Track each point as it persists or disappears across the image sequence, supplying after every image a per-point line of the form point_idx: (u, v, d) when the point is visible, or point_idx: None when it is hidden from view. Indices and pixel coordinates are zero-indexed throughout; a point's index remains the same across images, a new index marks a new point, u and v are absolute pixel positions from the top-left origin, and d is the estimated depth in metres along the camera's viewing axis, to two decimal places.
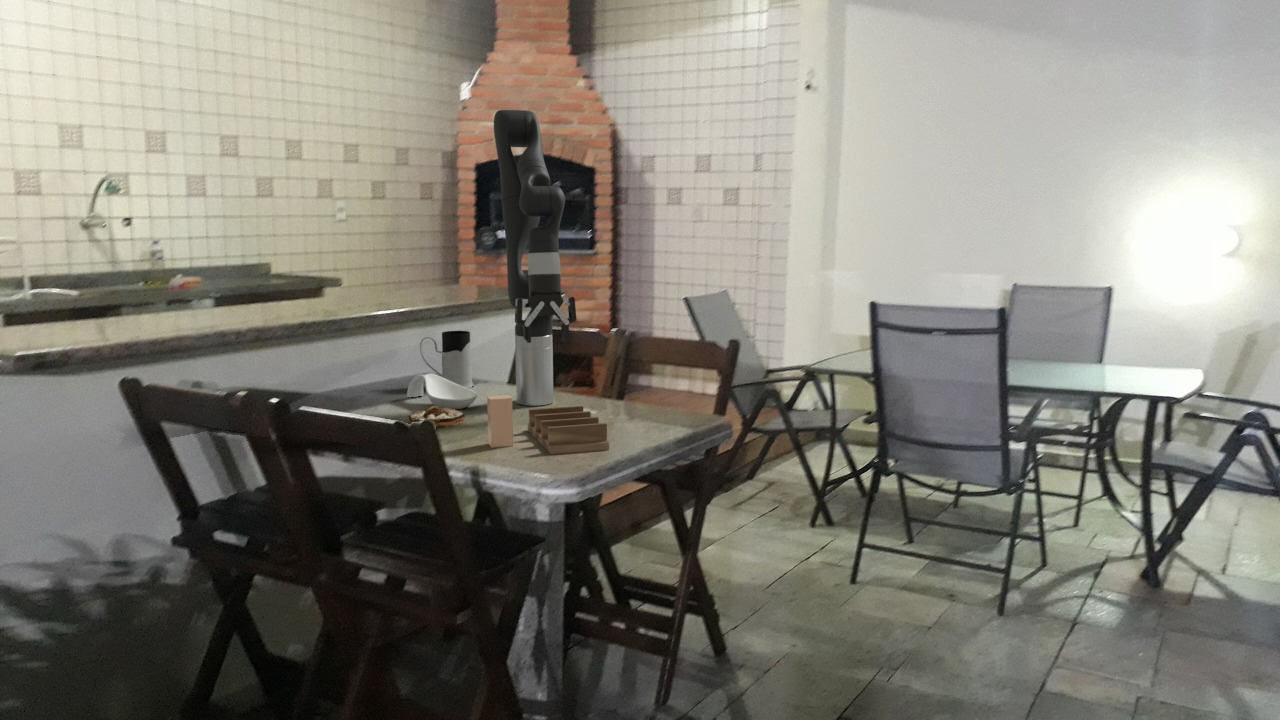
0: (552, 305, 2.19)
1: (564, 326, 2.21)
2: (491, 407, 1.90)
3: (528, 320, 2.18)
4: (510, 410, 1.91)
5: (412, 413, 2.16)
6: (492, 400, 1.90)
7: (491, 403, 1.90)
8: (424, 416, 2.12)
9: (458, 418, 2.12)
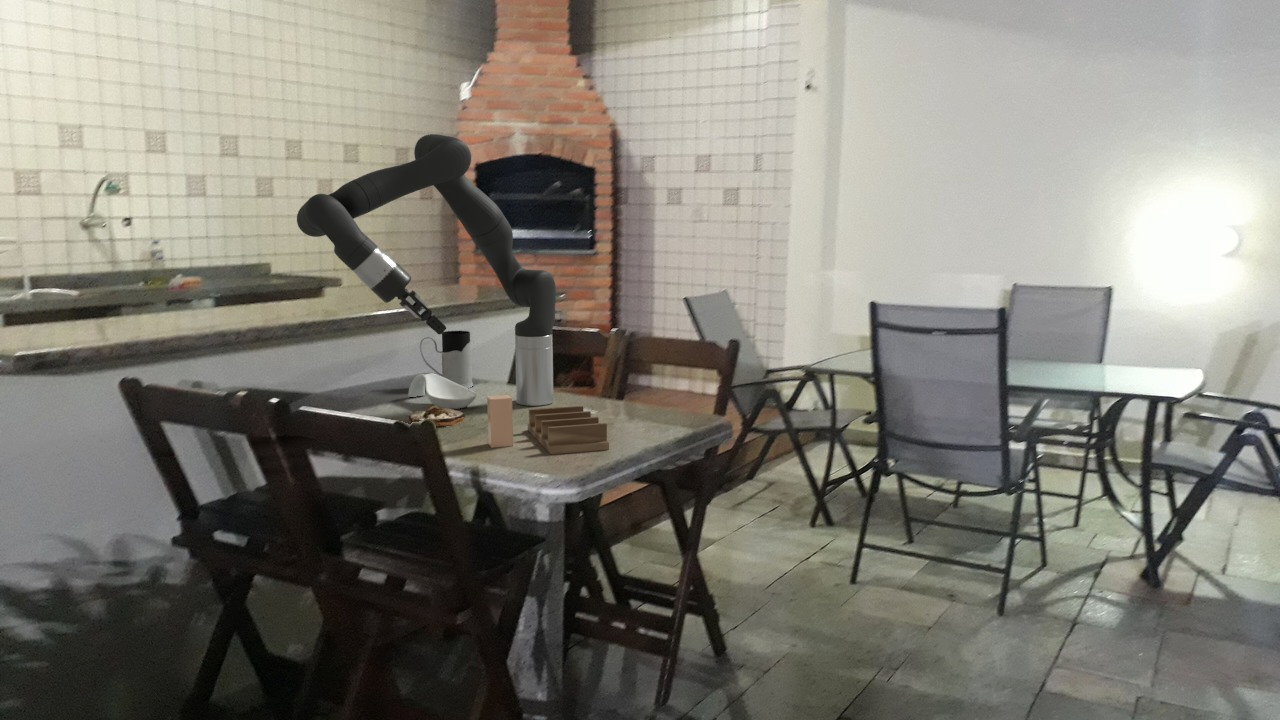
0: (404, 308, 1.91)
1: None
2: (491, 407, 1.90)
3: None
4: (510, 410, 1.91)
5: (412, 413, 2.16)
6: (492, 400, 1.90)
7: (491, 403, 1.90)
8: (424, 416, 2.12)
9: (458, 418, 2.12)
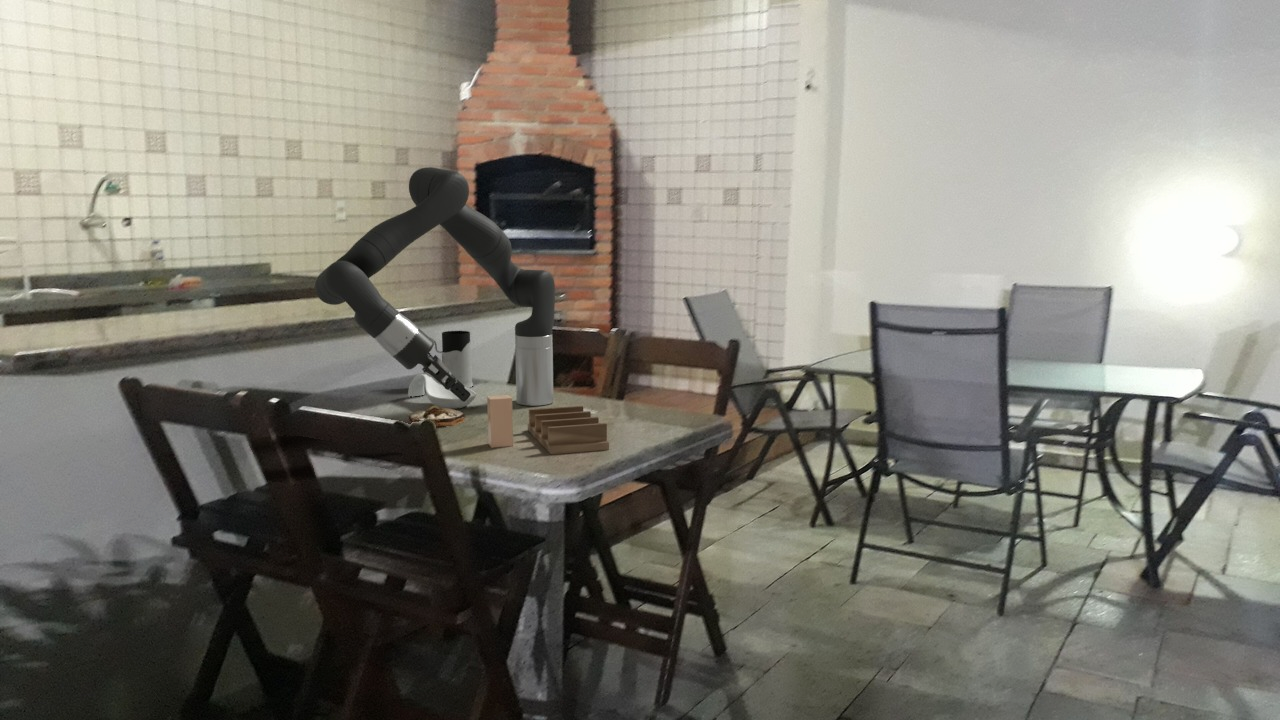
0: None
1: None
2: (491, 407, 1.90)
3: None
4: (510, 410, 1.91)
5: (412, 413, 2.16)
6: (492, 400, 1.90)
7: (491, 403, 1.90)
8: (424, 416, 2.12)
9: (458, 418, 2.12)
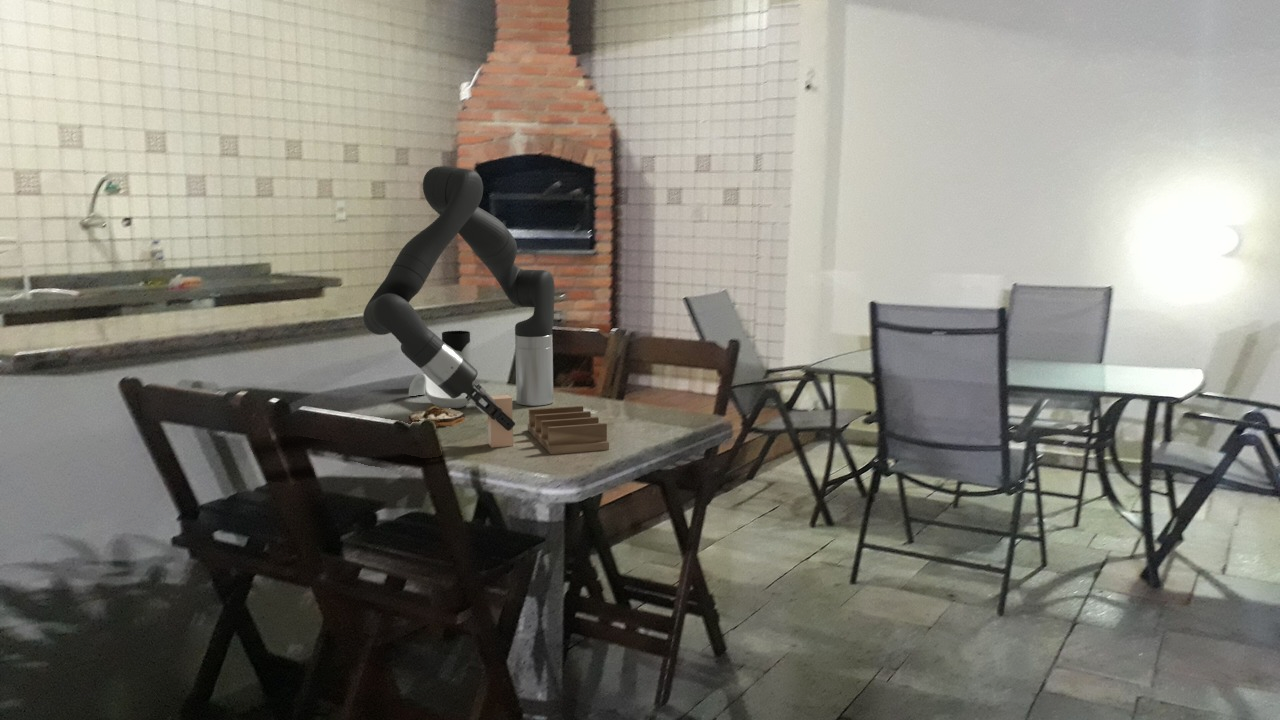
0: None
1: None
2: None
3: None
4: (510, 410, 1.91)
5: (412, 413, 2.16)
6: None
7: None
8: (424, 416, 2.12)
9: (458, 418, 2.12)
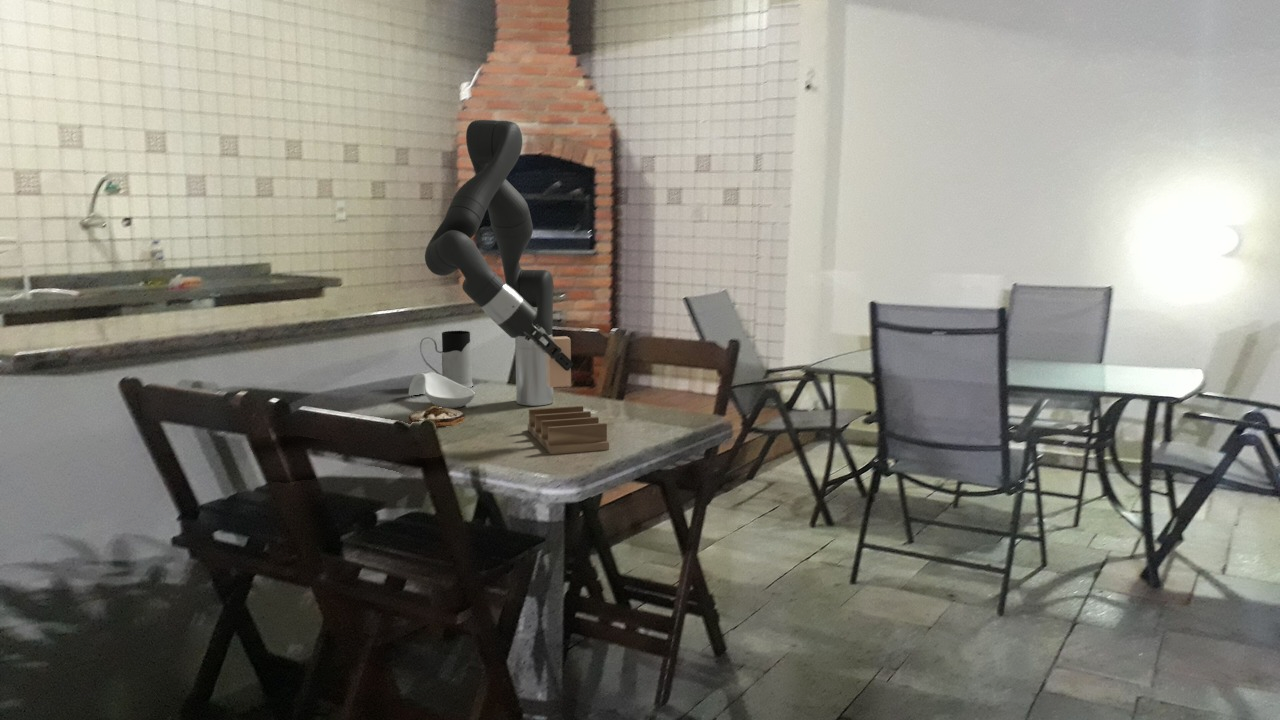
0: (529, 342, 1.92)
1: None
2: None
3: None
4: (568, 350, 1.94)
5: (412, 413, 2.16)
6: None
7: None
8: (424, 416, 2.12)
9: (458, 418, 2.12)
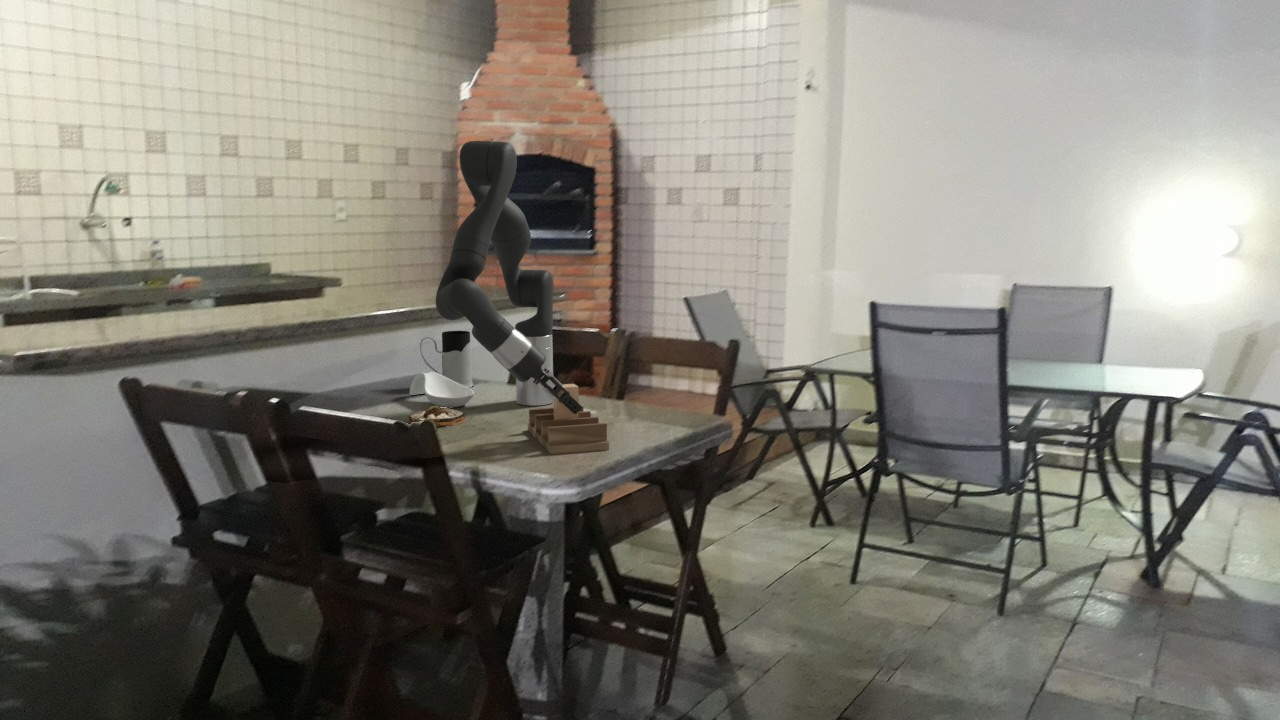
0: None
1: None
2: (558, 395, 1.94)
3: None
4: (576, 398, 1.96)
5: (412, 413, 2.16)
6: None
7: None
8: (424, 416, 2.12)
9: (458, 418, 2.12)
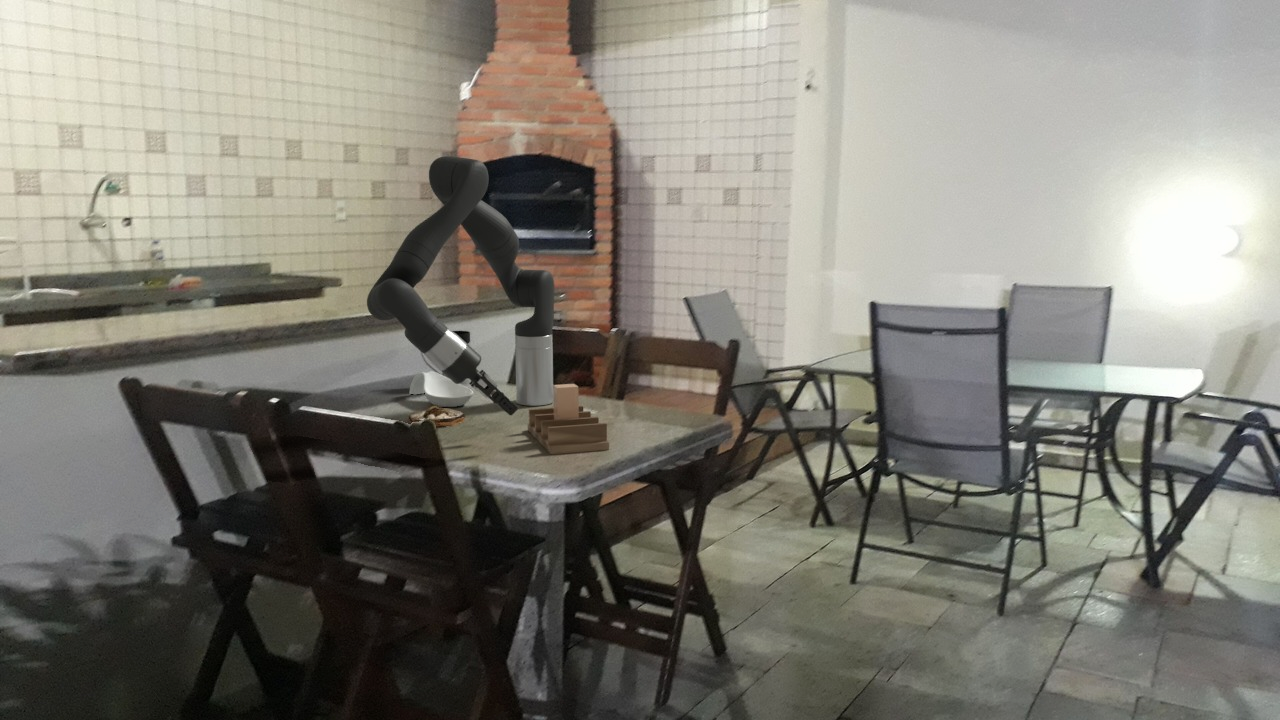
0: (474, 388, 1.89)
1: None
2: (558, 395, 1.94)
3: None
4: (576, 398, 1.96)
5: (412, 413, 2.16)
6: (559, 388, 1.94)
7: (558, 391, 1.94)
8: (424, 416, 2.12)
9: (458, 418, 2.12)
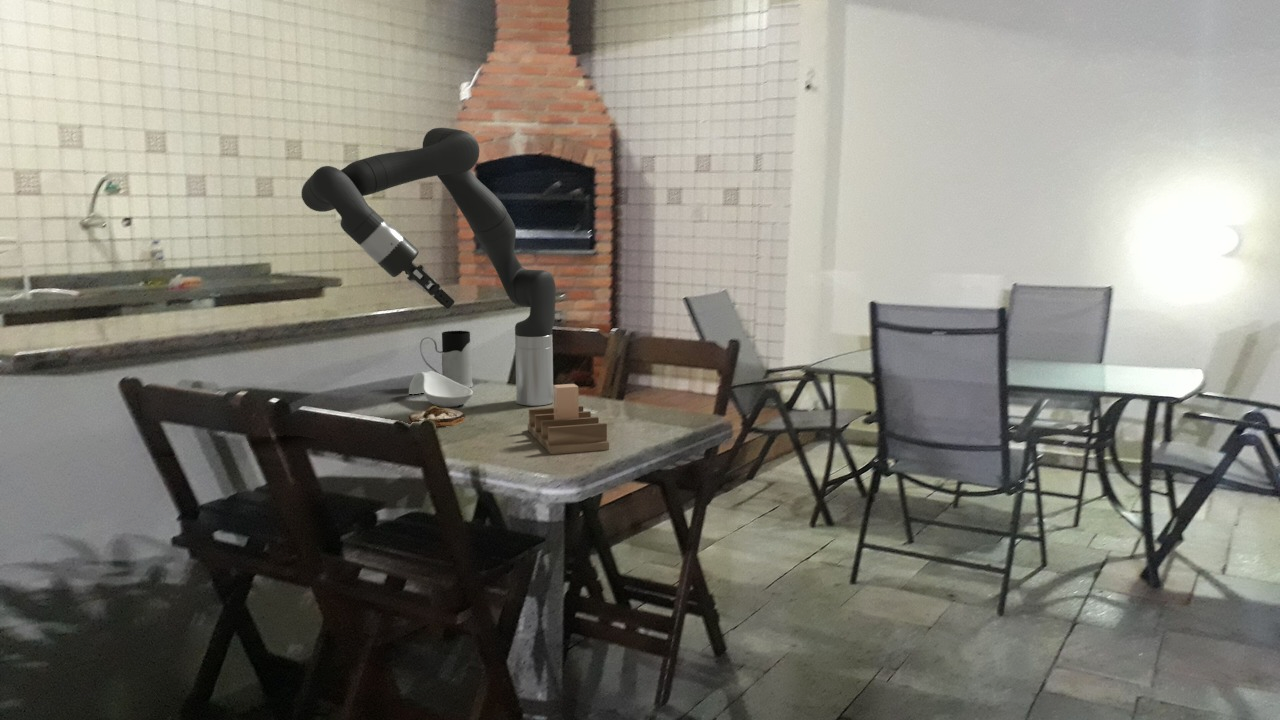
0: None
1: None
2: (558, 395, 1.94)
3: None
4: (576, 398, 1.96)
5: (412, 413, 2.16)
6: (559, 388, 1.94)
7: (558, 391, 1.94)
8: (424, 416, 2.12)
9: (458, 418, 2.12)
